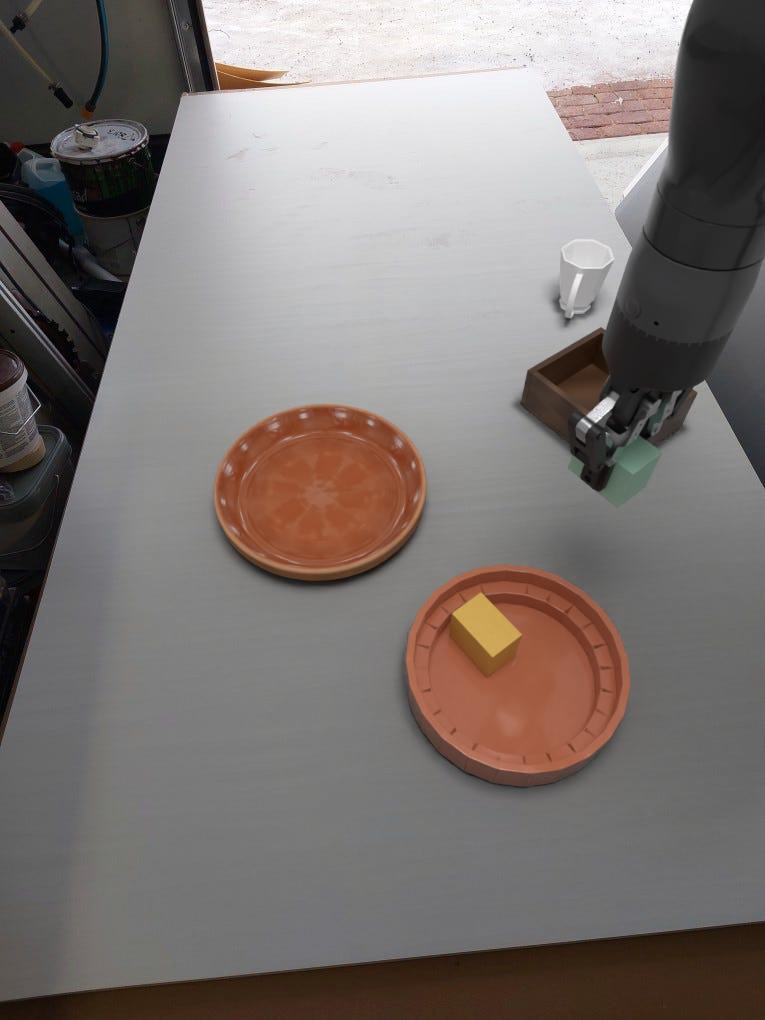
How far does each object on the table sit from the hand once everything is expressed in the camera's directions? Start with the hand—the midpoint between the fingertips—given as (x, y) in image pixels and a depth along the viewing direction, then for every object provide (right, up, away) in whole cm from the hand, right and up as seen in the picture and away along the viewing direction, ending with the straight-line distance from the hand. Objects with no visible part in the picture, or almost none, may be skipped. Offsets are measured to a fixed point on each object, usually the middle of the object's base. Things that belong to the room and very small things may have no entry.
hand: (609, 470), depth 58 cm
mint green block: (0, -1, +1) cm, 1 cm away
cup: (+7, +24, +38) cm, 46 cm away
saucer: (-26, -2, +19) cm, 32 cm away
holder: (+7, +8, +26) cm, 29 cm away
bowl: (-7, -19, +7) cm, 21 cm away
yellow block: (-10, -16, +8) cm, 20 cm away
